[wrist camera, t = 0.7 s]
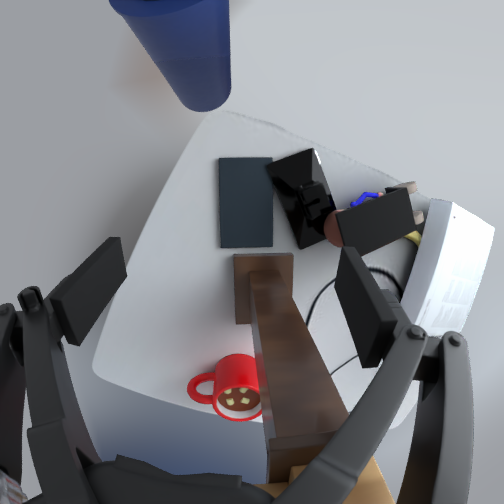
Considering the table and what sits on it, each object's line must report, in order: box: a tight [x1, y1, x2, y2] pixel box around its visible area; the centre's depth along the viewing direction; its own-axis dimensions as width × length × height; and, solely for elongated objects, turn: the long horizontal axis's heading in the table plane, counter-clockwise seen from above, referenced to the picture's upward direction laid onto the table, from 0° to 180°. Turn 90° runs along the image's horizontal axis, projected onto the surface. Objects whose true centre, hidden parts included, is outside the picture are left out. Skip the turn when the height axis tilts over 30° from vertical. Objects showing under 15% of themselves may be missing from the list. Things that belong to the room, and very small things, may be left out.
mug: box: [187, 354, 262, 422], centre depth 40 cm, size 8×12×8 cm, turn 92°
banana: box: [404, 231, 422, 248], centre depth 39 cm, size 8×2×4 cm
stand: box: [234, 253, 349, 484], centre depth 26 cm, size 8×10×31 cm
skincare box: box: [400, 198, 495, 336], centre depth 38 cm, size 21×6×16 cm
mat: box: [219, 158, 273, 248], centre depth 37 cm, size 12×7×1 cm, turn 1°
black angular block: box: [266, 148, 337, 250], centre depth 36 cm, size 12×7×5 cm, turn 23°
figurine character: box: [324, 182, 424, 257], centre depth 36 cm, size 7×8×15 cm
